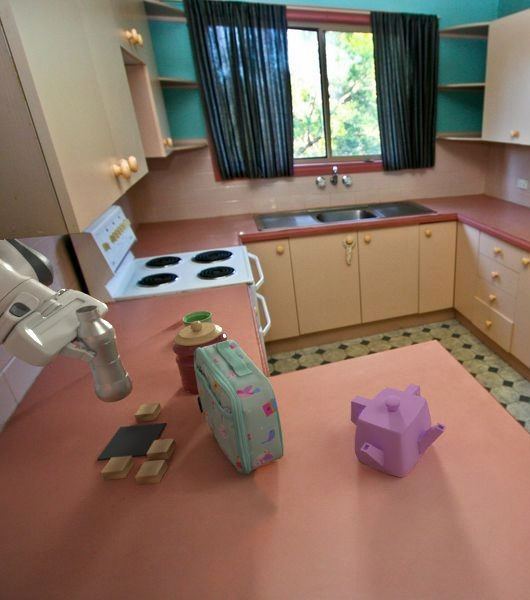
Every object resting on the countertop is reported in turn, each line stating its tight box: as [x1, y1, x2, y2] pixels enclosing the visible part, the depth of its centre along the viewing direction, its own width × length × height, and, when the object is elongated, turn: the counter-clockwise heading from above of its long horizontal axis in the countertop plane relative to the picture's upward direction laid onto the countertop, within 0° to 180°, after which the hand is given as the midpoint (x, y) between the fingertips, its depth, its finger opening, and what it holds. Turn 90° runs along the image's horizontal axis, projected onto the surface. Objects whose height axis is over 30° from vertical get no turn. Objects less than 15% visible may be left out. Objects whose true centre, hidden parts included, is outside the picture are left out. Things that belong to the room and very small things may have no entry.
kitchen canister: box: [171, 321, 228, 395], centre depth 110 cm, size 13×13×18 cm
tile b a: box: [100, 456, 135, 481], centre depth 85 cm, size 4×4×2 cm
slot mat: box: [96, 422, 167, 462], centre depth 93 cm, size 10×10×1 cm
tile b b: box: [146, 437, 177, 461], centre depth 89 cm, size 4×4×2 cm
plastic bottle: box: [75, 305, 134, 404], centre depth 83 cm, size 6×7×20 cm
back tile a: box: [134, 402, 162, 423], centre depth 100 cm, size 4×4×2 cm
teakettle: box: [350, 383, 447, 478], centre depth 86 cm, size 17×17×12 cm
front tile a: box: [134, 459, 168, 486], centre depth 83 cm, size 4×4×2 cm
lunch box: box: [194, 339, 284, 475], centre depth 88 cm, size 27×10×21 cm, turn 40°
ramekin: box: [181, 310, 213, 328], centre depth 142 cm, size 9×9×4 cm
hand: (103, 349), depth 83 cm, fingers closed on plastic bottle, 6 cm apart
